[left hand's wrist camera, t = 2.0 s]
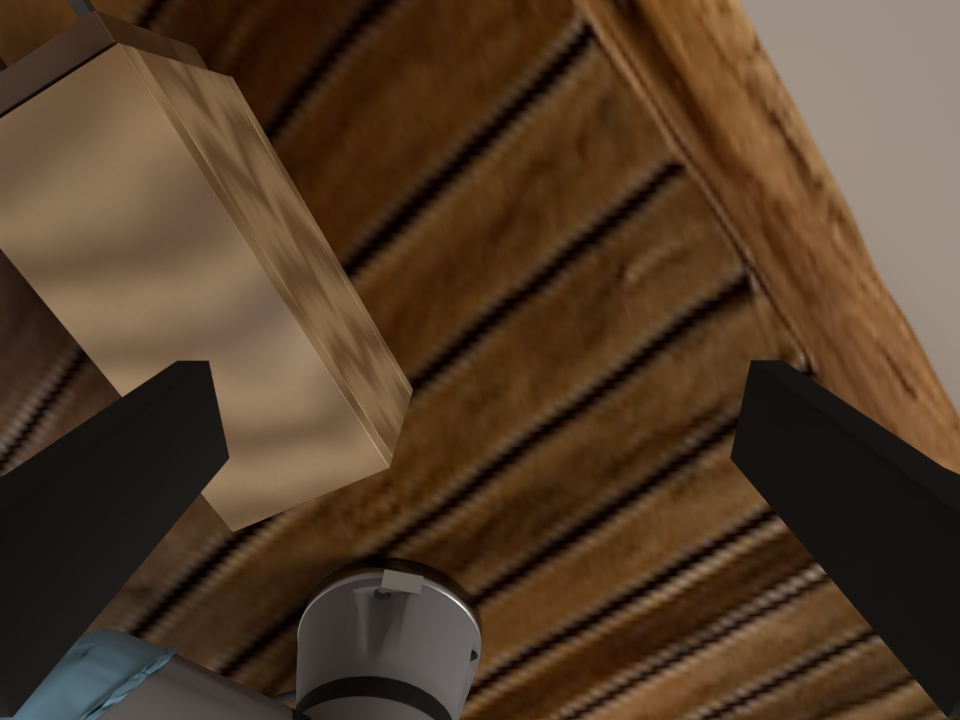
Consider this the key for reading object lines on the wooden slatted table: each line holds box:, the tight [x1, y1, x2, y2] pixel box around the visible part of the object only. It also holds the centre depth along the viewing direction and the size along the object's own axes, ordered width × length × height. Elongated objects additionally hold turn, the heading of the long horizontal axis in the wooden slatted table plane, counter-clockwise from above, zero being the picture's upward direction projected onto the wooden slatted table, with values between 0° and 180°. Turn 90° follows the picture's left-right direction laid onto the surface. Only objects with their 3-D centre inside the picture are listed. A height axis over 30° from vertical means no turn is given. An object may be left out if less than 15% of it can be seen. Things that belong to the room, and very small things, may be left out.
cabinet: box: [0, 43, 413, 532], centre depth 28 cm, size 21×10×9 cm, turn 25°
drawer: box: [0, 0, 208, 118], centre depth 26 cm, size 26×9×8 cm, turn 25°
